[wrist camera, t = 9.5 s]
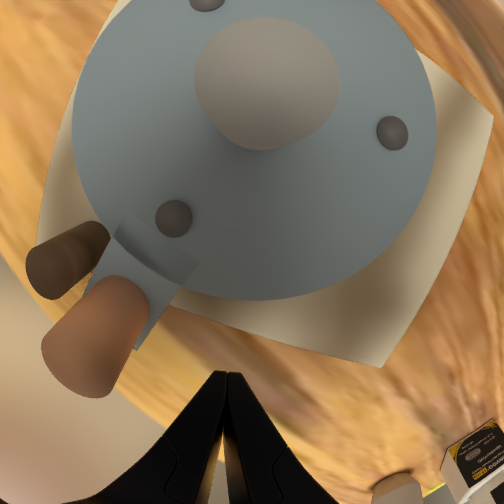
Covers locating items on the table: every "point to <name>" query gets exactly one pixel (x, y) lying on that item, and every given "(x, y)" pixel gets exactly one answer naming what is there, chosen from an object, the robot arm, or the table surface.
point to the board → (316, 303)
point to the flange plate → (238, 160)
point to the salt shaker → (397, 490)
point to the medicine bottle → (477, 466)
